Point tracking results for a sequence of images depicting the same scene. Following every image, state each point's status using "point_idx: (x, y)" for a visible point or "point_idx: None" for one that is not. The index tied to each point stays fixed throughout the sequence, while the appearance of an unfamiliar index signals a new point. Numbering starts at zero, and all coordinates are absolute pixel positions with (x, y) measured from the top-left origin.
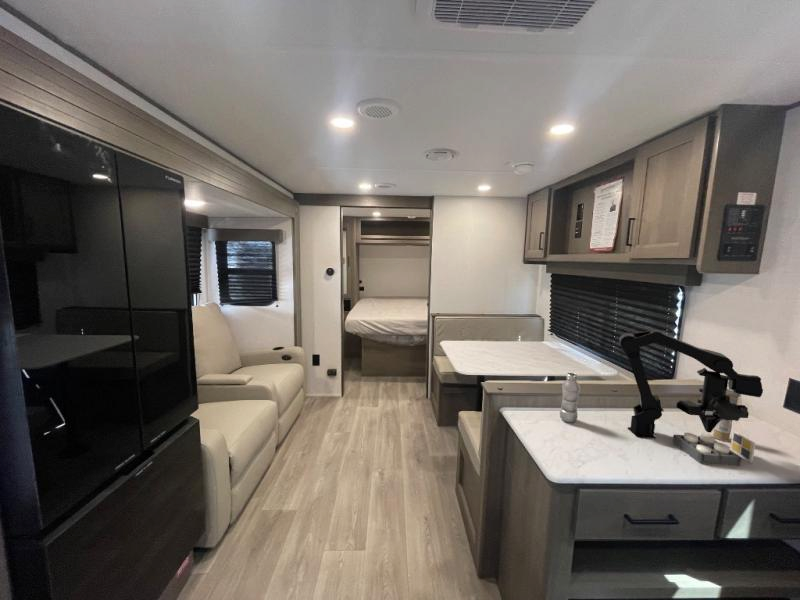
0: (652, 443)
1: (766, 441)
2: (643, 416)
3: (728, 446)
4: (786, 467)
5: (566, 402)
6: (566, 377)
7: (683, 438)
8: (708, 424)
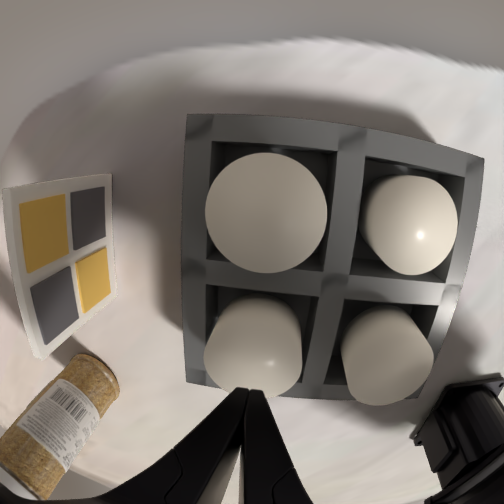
0: (496, 341)
1: None
2: None
3: (210, 198)
4: (13, 161)
5: None
6: None
7: None
8: (289, 468)
